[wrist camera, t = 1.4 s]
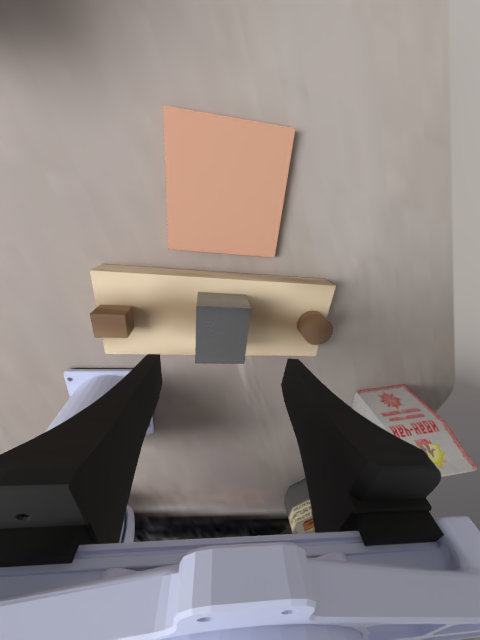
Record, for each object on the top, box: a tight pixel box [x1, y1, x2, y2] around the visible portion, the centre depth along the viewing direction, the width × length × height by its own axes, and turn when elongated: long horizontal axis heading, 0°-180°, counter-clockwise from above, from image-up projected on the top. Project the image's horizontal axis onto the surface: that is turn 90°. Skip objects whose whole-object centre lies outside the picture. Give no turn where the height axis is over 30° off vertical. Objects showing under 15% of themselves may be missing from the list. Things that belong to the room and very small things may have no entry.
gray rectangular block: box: [195, 292, 251, 364], centre depth 19 cm, size 5×4×3 cm
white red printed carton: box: [352, 384, 478, 477], centre depth 26 cm, size 4×7×10 cm, turn 93°
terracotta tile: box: [163, 105, 295, 257], centre depth 18 cm, size 9×9×1 cm
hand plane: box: [90, 264, 336, 356], centre depth 20 cm, size 8×20×4 cm, turn 84°
